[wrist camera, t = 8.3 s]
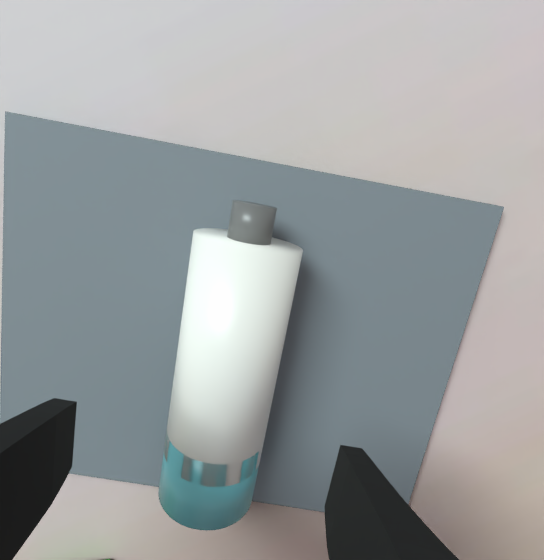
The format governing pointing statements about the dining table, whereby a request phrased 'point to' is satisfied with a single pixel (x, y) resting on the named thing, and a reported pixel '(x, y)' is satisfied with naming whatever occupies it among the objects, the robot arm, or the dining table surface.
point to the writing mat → (171, 291)
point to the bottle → (226, 366)
